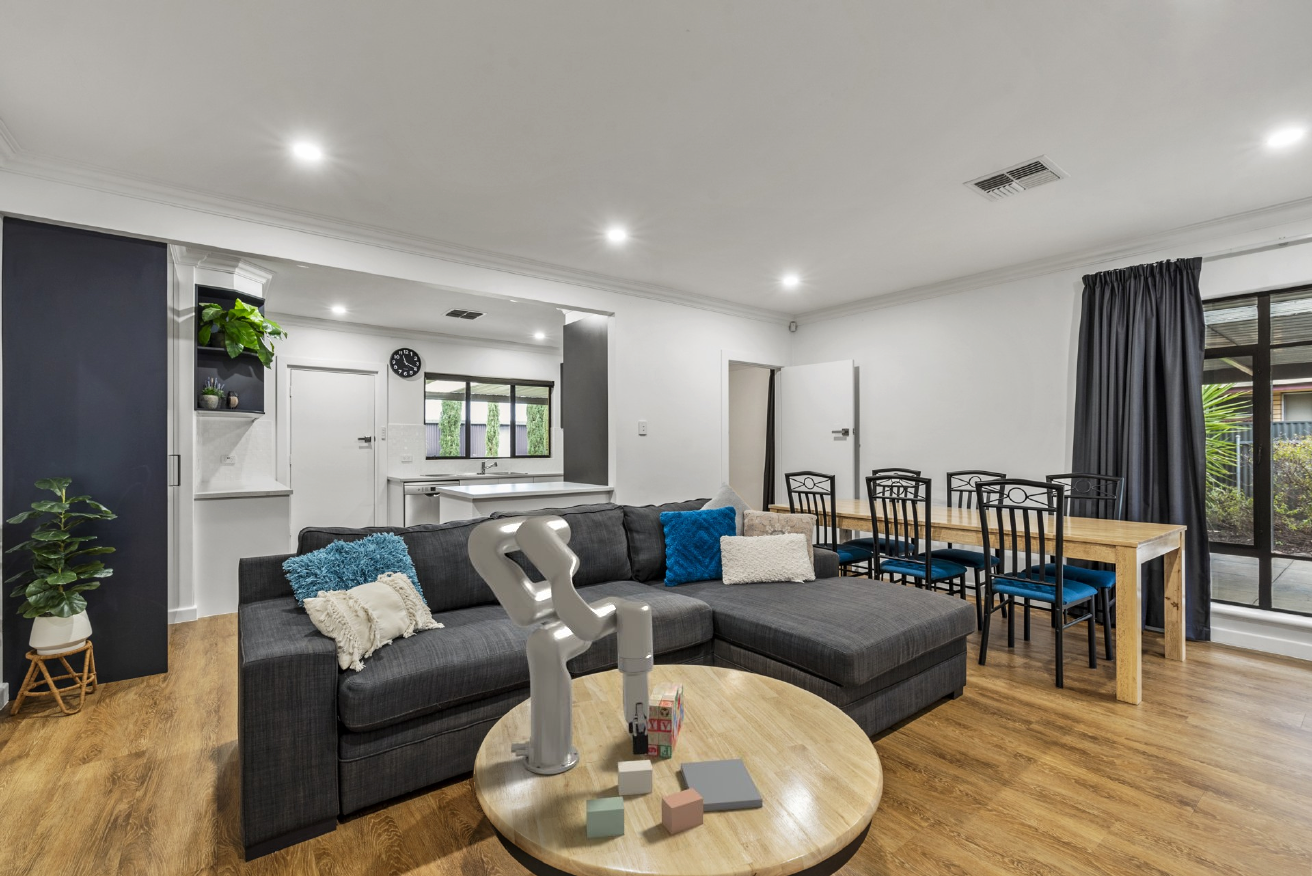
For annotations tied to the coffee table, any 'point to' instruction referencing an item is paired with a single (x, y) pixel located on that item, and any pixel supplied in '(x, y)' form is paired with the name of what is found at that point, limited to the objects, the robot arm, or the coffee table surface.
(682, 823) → the terracotta brick
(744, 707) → the coffee table surface
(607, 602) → the robot arm
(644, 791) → the ivory brick
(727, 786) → the slate board
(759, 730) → the coffee table surface
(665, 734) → the stack of blocks
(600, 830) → the sage brick
